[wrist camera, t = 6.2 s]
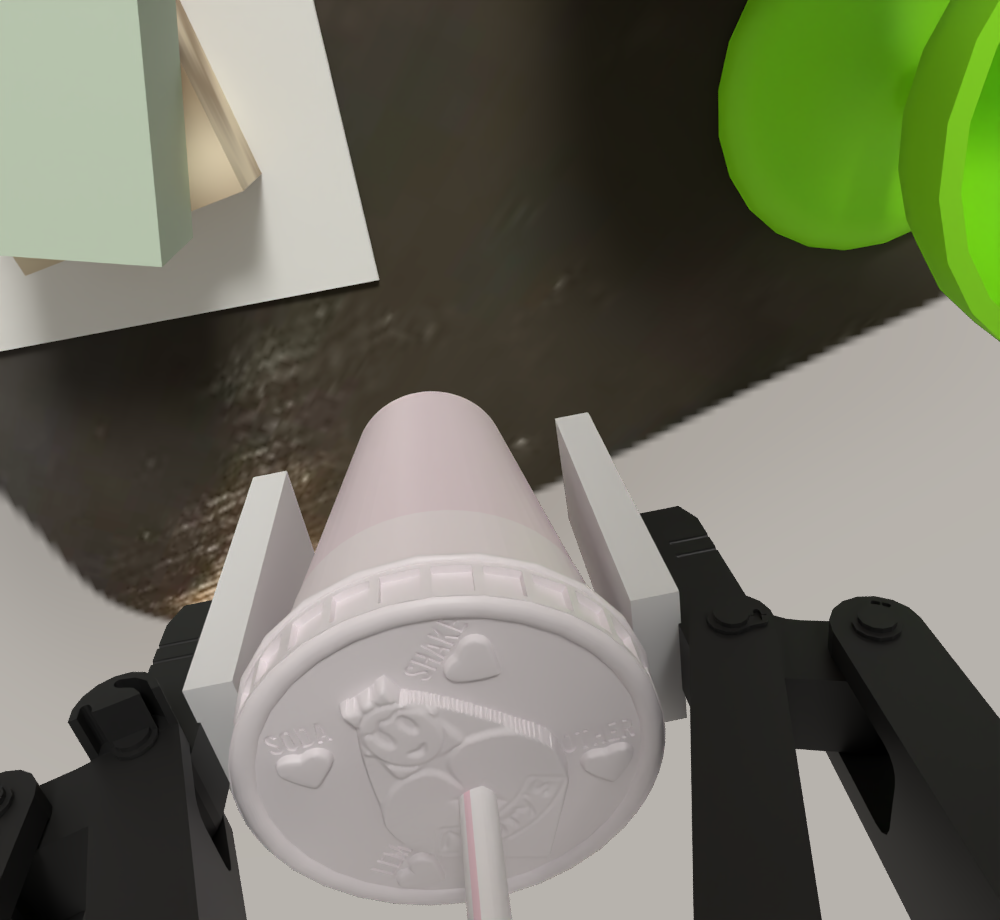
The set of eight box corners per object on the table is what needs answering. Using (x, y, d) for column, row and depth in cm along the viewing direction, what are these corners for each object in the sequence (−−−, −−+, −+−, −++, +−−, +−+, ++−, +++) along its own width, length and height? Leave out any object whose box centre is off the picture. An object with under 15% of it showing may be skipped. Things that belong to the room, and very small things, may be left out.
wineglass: (988, -197, 34) (1509, -410, 18) (1062, 140, 41) (1480, 199, 25) (663, 26, 36) (867, 12, 21) (786, 306, 44) (1009, 454, 28)
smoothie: (413, 602, 22) (429, 1327, 10) (244, 443, 19) (-44, 1182, 7) (604, 472, 20) (907, 1119, 8) (453, 281, 18) (569, 827, 5)
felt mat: (-255, -134, 30) (-262, -136, 30) (261, -221, 31) (259, -225, 30) (-11, 351, 40) (-14, 354, 39) (379, 277, 40) (378, 279, 40)
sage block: (-93, -42, 28) (-186, -58, 23) (175, -9, 29) (135, -19, 25) (-40, 219, 32) (-110, 247, 27) (193, 237, 33) (162, 267, 29)
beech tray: (-72, 22, 33) (-145, 18, 28) (147, -69, 32) (107, -87, 28) (69, 248, 37) (25, 276, 33) (261, 173, 37) (243, 190, 32)
